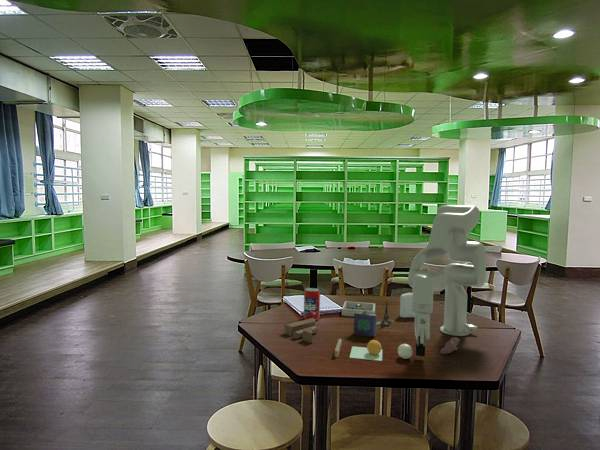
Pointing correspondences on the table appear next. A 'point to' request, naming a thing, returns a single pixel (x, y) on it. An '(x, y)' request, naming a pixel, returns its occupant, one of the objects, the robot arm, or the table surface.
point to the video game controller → (450, 346)
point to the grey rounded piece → (358, 306)
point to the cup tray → (352, 305)
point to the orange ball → (374, 347)
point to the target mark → (364, 354)
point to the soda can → (311, 303)
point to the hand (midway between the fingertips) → (420, 355)
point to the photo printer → (406, 305)
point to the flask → (365, 324)
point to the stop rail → (338, 348)
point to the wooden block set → (302, 329)
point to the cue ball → (405, 351)
